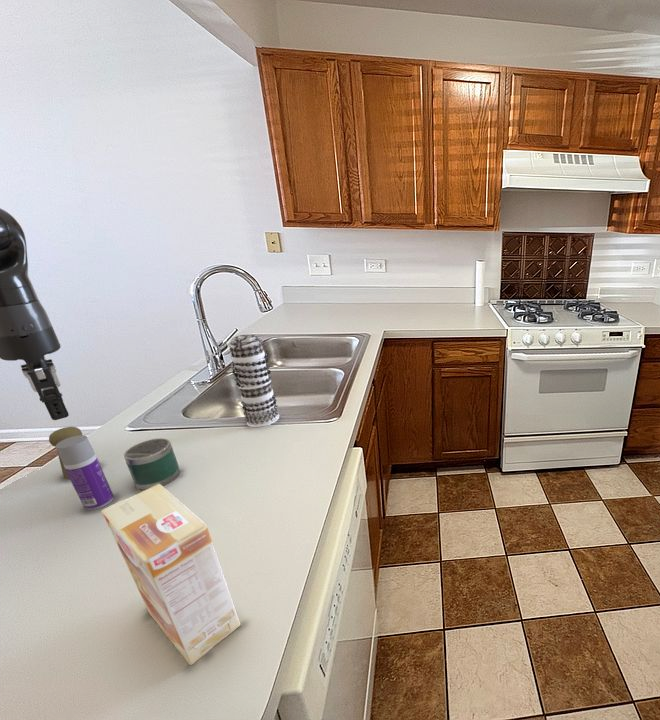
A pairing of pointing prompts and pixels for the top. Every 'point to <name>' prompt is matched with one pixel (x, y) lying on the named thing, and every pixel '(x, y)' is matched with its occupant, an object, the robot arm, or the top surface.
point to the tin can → (152, 463)
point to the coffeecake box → (174, 569)
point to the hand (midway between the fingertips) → (58, 410)
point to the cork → (62, 435)
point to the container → (85, 472)
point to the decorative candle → (253, 380)
